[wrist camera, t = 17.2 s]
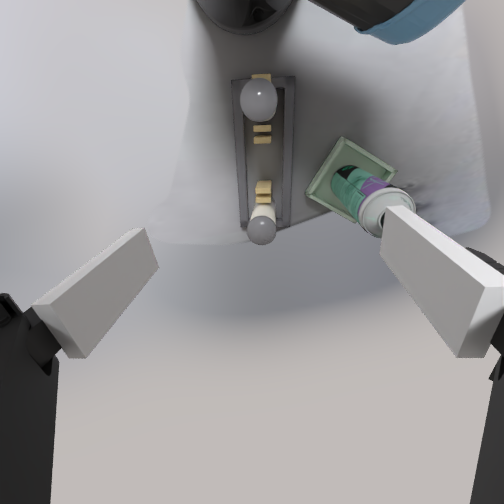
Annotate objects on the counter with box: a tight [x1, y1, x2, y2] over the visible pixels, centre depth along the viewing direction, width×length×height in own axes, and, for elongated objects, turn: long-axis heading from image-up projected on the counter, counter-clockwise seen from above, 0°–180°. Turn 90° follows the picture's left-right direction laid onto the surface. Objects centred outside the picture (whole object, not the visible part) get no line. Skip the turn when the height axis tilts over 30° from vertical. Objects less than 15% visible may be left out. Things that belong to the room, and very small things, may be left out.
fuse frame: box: [231, 74, 295, 227], centre depth 39 cm, size 23×9×6 cm, turn 2°
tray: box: [305, 137, 398, 223], centre depth 41 cm, size 10×10×2 cm
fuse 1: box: [240, 78, 278, 122], centre depth 32 cm, size 4×4×12 cm
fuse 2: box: [247, 198, 276, 245], centre depth 40 cm, size 4×4×12 cm
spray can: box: [330, 165, 416, 238], centre depth 32 cm, size 6×6×20 cm
